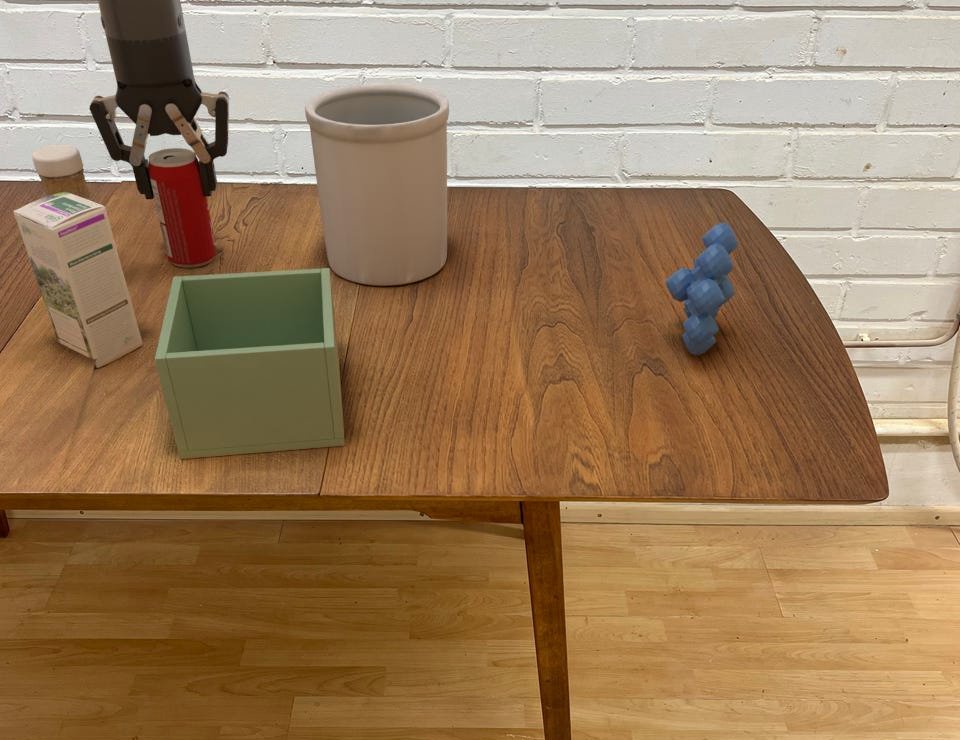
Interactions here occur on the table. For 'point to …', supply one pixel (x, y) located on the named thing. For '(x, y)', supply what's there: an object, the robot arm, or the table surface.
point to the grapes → (705, 288)
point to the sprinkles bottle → (61, 170)
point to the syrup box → (80, 275)
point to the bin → (251, 363)
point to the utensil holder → (381, 180)
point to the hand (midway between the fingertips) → (179, 194)
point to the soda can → (182, 207)
